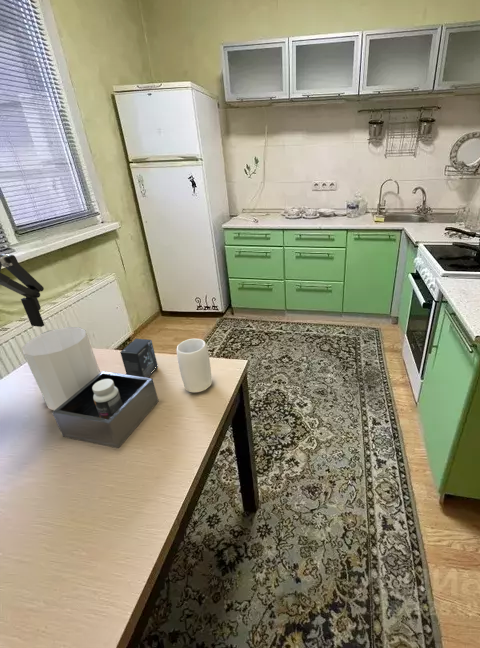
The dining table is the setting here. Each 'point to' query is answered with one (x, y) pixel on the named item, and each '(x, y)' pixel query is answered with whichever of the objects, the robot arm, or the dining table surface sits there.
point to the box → (139, 358)
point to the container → (61, 363)
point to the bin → (86, 424)
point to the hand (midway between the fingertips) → (8, 341)
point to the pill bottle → (106, 398)
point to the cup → (194, 365)
